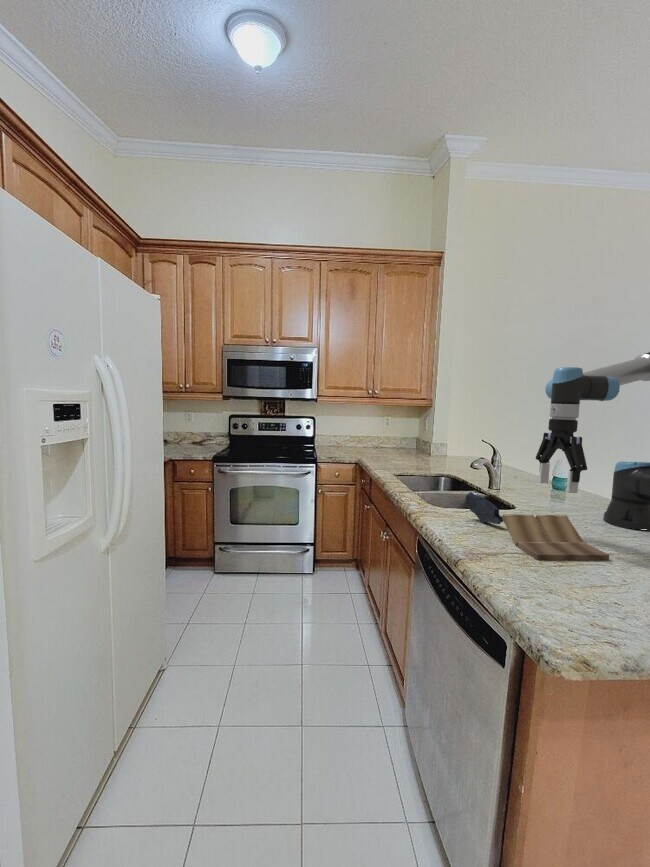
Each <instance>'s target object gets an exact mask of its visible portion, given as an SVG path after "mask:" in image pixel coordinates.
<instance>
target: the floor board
mask: <svg viewBox="0 0 650 867" xmlns="http://www.w3.org/2000/svg"><path fill="white" fill-rule="evenodd" d="M516 546H517V548H518V549H519V550H521V551H522V552H524V553H525V554H526V555H528V556H530V557H532V558H533V559H534V560H536V561H609V560H610V554H608V553H606V552H604V551H603V550H600V549H599V548H596V547H594V546H593V545H590V544H588V543H586V541H585V542H584V541H583V542H549V541H548V542H518V545H516Z"/></svg>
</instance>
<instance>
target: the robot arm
mask: <svg viewBox="0 0 650 867" xmlns="http://www.w3.org/2000/svg"><path fill="white" fill-rule="evenodd" d="M638 381H643V382H650V351H648V352H645V353H642V354H638V355H637V356H636V357H635V358H634V359H631V360H627V361H623V362H618V363H614V364H611V365H607V366H605V367H604V366H603V367H599V368H596V369H593V370H589V371H584V372H583V368H581V367H575V366H574V367H573V366H570V367H569V366H566V367H558V368H556V369H554V370H553V375H552V379H550V380H548V381H547V383H546V385H545V394H546V396H547V397H548V399H550V410H549V417H551V418H549V419H548V431H550V432H544V433H543V435H542V436H543V437H542V440H541V443H540V445H539V448H538V451H537V453H536V456H535V460H538V461H539V477H538V478H539V479H538V483H539V484H549V478H550V477H549V476H550V467H551V466H550V465H551V464H550V463H551V462H550V460H551V458H552V457H553V456H554V454H555V453H556V452H557V451H558V450H561V451H562V452H564V455H565V458H566V460H567V463H568V465H569V467H570V469H569V470H568V478H567V486H566V487H567V488H566V493H567V494H578V490H579V483H580V479H581V472H582V471H587V470H588V466H587V462H586V456H585V452H584V449H583V437H582V436H574V433H576V432H577V431H578V424H579V421H578V420H577V419H578V418H579V417H580V415H579V414H580V403H581V401H599V402H604V401H605V402H606V401H612V400H614V399H616V397H617V396H618V395H619V392H620V389H621V386H623V385H627V384H631V383H635V382H638ZM614 466H615V467H614V470H613V479H612V487H611V499H610V501H609V503H608V506H607V508H606V511H604V513H603V519H602V520H603V521H604V522H606V523H607V524H610V525H614V526H617V527H620V528H624V527H626V528H625V529H629V528H632V529H631V530H634V529H647V530H650V461H618V462H616V464H615V465H614Z"/></svg>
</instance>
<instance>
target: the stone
mask: <svg viewBox="0 0 650 867" xmlns="http://www.w3.org/2000/svg"><path fill="white" fill-rule="evenodd" d="M465 506H467V508H468V509H469V510H470V512H472V513H473V514H474V515H475V516H476V517H477V518H478V520H479V521H480V522H481V521H482V522H488V523H489V524H494V525H495V524H496V525H500V524H501V523H504V521H503V519H502V516H503V515H501V514H500V508H498V507H497V506H496V505H495V504H494V503H492V502H491V501H489V500H487V499H486V498H485V497H482V496H480V495H478V494H475V493H473V492H472V491H471V492H470V491H469V492H468V493H467V494H466V495H465ZM482 522H481V523H482Z"/></svg>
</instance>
